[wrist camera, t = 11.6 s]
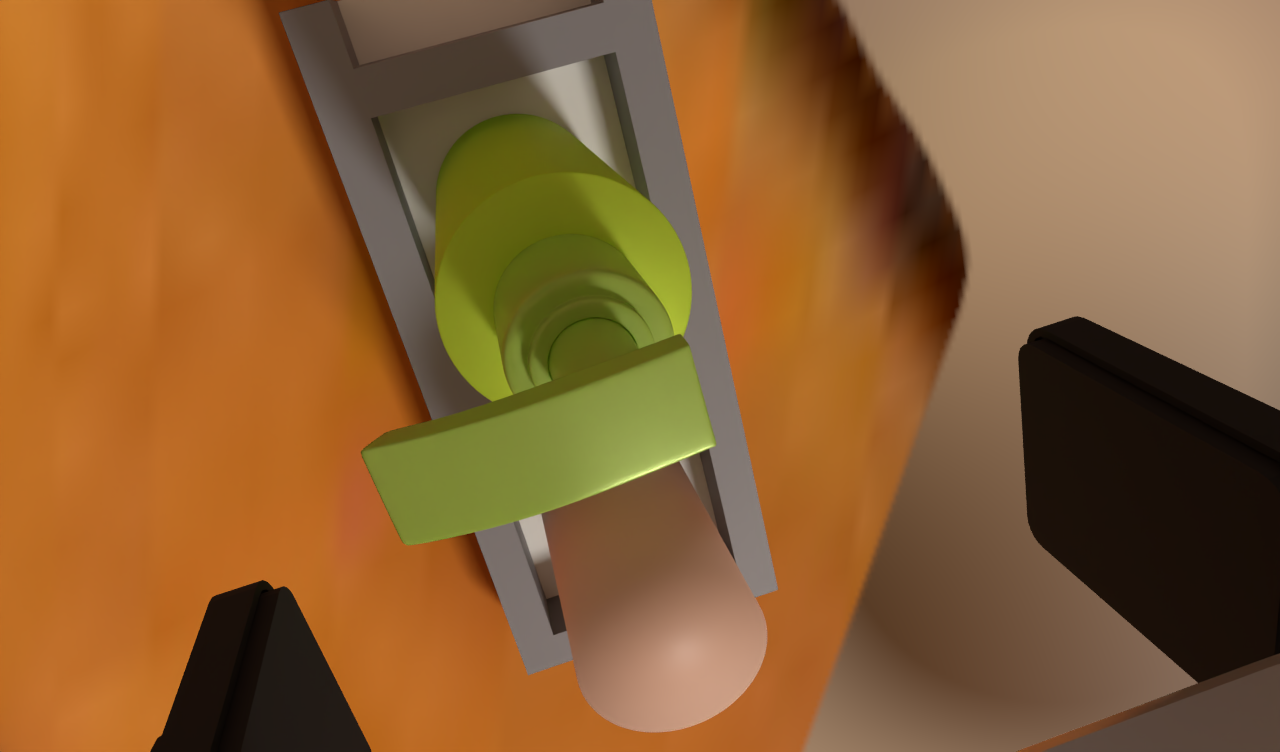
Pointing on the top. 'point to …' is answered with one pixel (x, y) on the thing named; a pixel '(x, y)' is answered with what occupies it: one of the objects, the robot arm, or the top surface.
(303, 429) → the top surface
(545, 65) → the rail
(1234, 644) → the robot arm
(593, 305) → the soap dispenser
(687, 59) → the top surface
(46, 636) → the top surface
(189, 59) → the top surface
